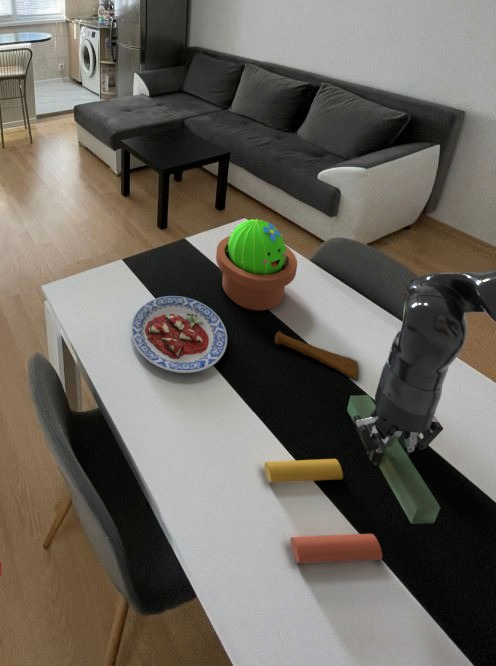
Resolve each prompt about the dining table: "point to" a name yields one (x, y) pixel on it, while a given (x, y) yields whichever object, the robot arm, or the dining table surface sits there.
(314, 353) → the primitive tool
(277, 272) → the potted cactus
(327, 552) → the terracotta rod
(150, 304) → the ceramic plate
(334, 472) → the ochre rod
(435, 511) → the green bar
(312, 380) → the dining table surface
